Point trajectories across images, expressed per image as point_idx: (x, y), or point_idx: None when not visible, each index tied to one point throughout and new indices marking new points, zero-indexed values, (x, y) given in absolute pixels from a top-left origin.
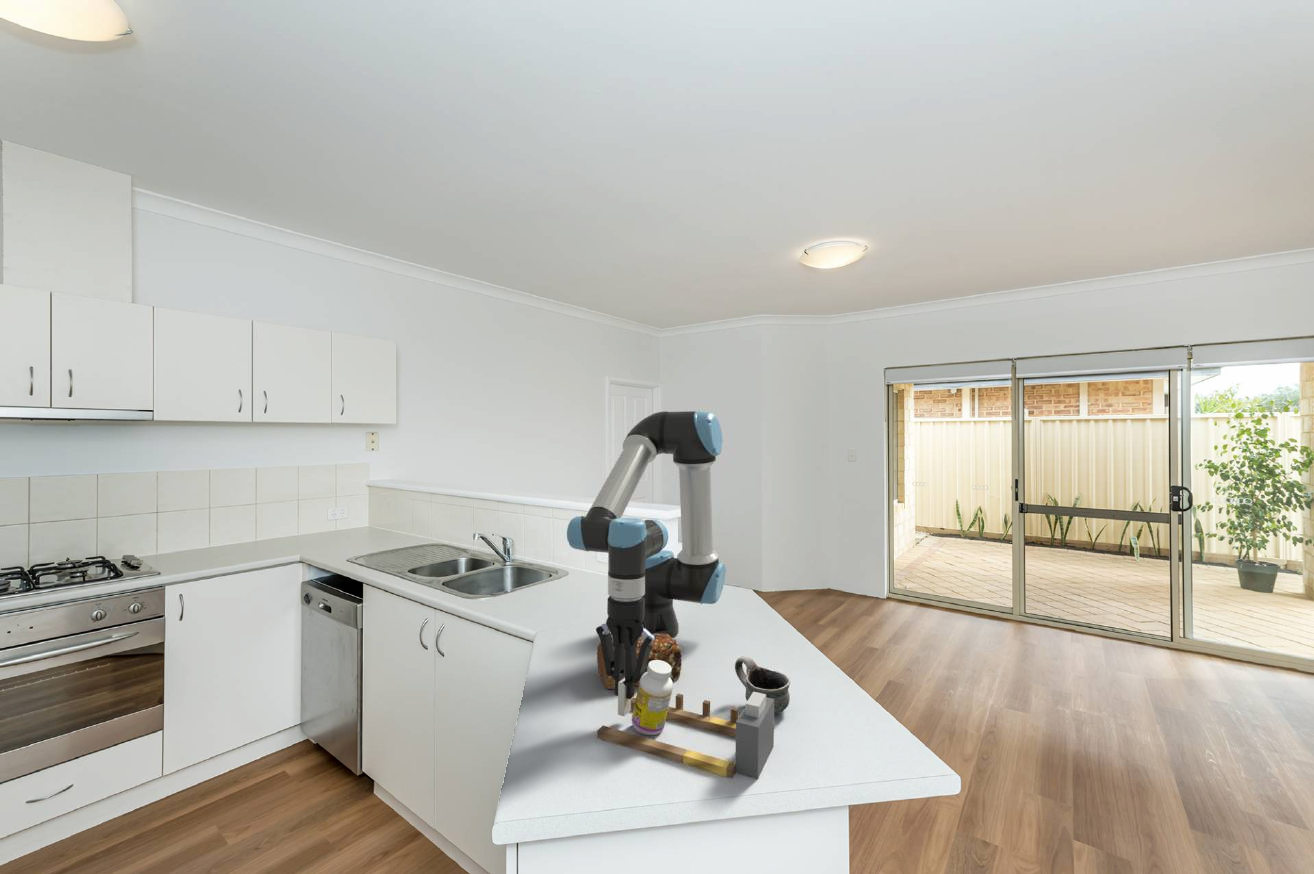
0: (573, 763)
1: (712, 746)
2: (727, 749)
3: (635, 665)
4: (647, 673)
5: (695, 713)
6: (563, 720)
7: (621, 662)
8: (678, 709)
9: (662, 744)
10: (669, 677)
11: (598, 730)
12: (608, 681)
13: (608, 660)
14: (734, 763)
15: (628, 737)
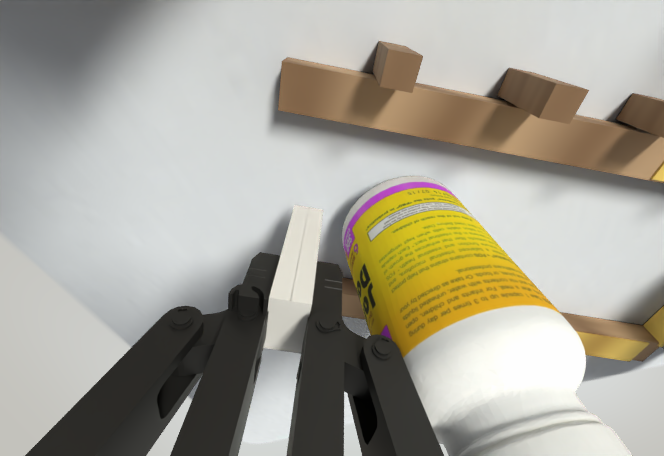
0: (265, 362)
1: (613, 250)
2: (660, 253)
3: (341, 405)
4: (444, 443)
5: (605, 126)
6: (120, 238)
7: (239, 437)
8: (524, 113)
9: None
10: (579, 368)
11: None
12: None
13: (144, 451)
14: (659, 346)
15: (360, 312)
